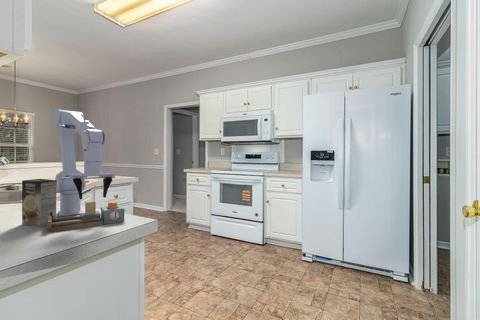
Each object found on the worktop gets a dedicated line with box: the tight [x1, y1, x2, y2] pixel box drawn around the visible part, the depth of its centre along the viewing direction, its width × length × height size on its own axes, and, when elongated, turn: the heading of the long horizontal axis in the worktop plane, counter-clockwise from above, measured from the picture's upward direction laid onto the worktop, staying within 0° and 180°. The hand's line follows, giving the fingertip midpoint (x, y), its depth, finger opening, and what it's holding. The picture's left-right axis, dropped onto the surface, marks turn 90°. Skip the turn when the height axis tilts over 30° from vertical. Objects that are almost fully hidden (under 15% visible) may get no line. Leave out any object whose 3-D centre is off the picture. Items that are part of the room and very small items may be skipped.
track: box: [47, 215, 104, 233], centre depth 90 cm, size 9×16×4 cm, turn 127°
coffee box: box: [21, 178, 57, 228], centre depth 91 cm, size 9×6×16 cm
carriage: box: [79, 200, 101, 220], centre depth 92 cm, size 5×6×6 cm
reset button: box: [107, 201, 118, 209], centre depth 97 cm, size 3×3×4 cm
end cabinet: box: [100, 204, 125, 225], centre depth 97 cm, size 8×7×5 cm
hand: (92, 198), depth 93 cm, fingers open, 7 cm apart
